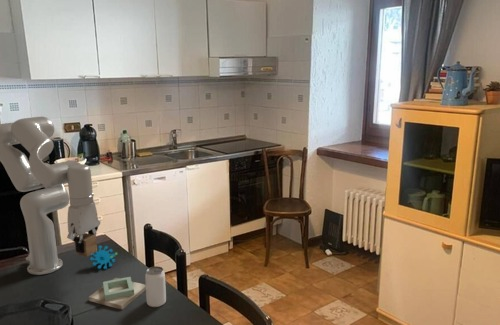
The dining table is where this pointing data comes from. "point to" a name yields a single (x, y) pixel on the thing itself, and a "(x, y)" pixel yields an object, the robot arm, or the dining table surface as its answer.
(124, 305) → the board
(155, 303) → the can
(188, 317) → the dining table surface
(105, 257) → the gear
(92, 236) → the block
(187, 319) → the dining table surface
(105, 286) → the pocket
